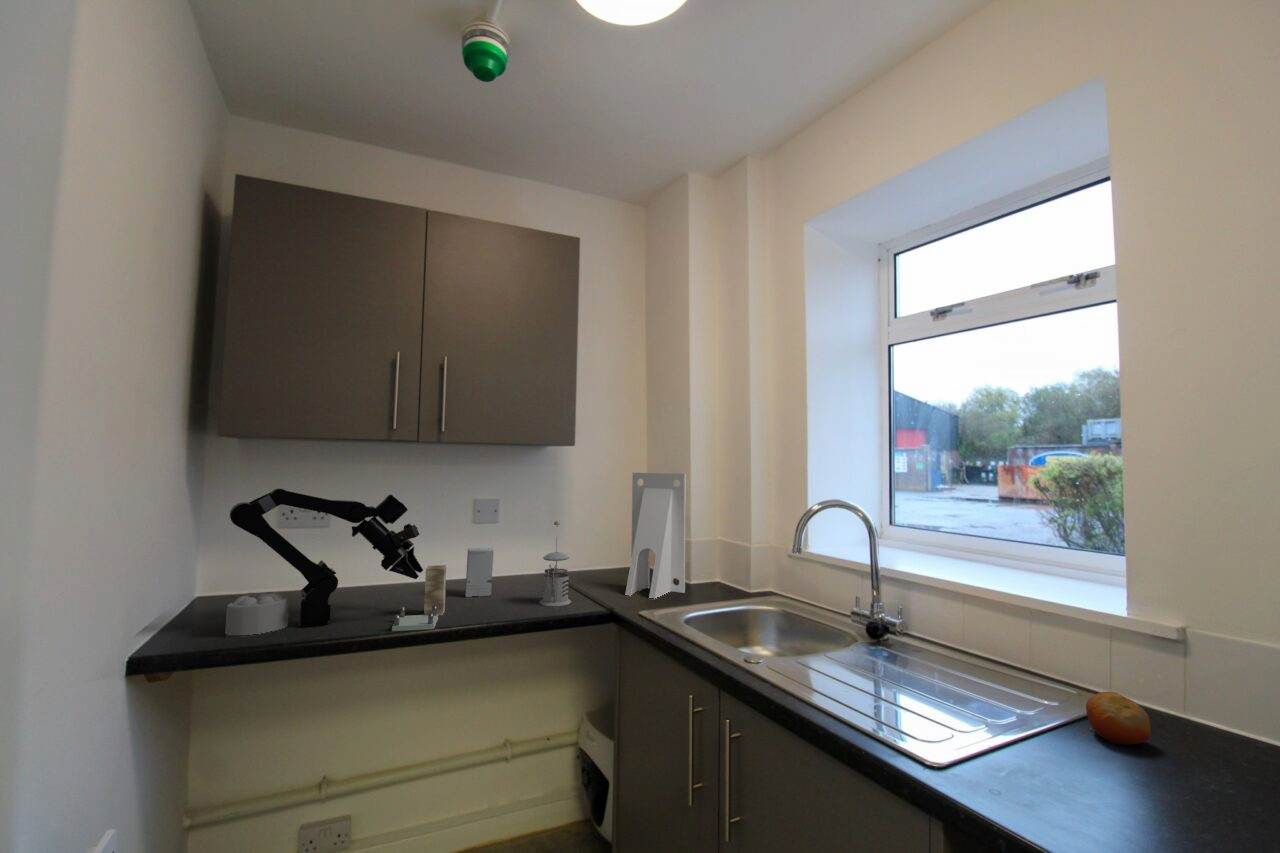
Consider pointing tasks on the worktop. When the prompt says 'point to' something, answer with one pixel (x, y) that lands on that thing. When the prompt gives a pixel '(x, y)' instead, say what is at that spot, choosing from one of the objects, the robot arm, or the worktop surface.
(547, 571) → the french press
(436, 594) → the birch post
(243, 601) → the lumpy-topped squat cylinder
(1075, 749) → the worktop surface
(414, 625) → the peg board
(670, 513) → the grey wedge bracket
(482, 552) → the skincare box
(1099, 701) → the fruit
